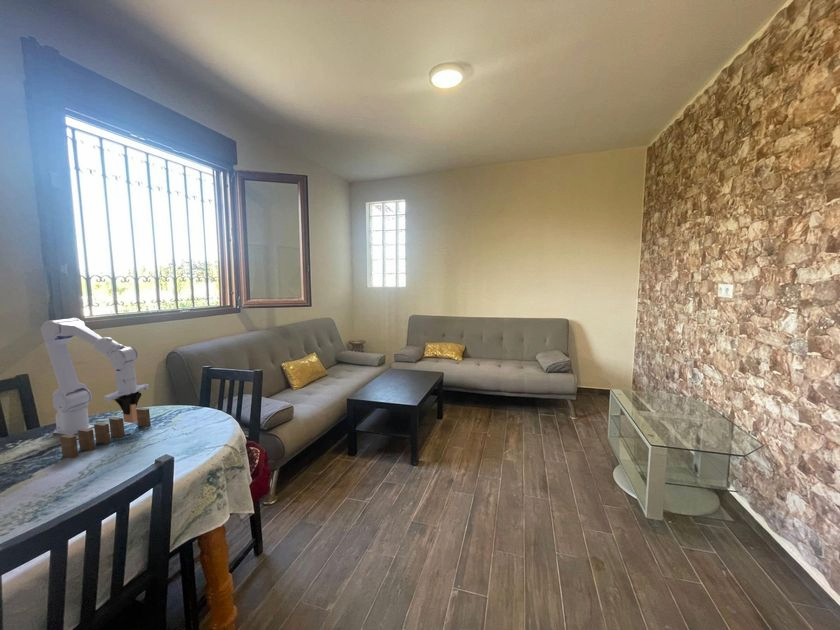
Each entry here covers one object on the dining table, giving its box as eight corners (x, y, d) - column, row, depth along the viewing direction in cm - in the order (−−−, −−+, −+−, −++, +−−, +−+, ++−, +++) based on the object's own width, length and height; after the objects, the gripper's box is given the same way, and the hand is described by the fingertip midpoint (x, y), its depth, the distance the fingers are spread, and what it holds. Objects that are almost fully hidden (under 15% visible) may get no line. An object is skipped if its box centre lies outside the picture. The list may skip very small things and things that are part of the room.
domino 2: (89, 450, 116) (87, 431, 115) (80, 449, 117) (77, 430, 116) (95, 448, 117) (92, 429, 116) (85, 447, 118) (83, 428, 118)
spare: (133, 423, 129) (131, 405, 128) (123, 421, 130) (122, 404, 130) (137, 421, 131) (135, 404, 130) (128, 420, 132) (126, 403, 131)
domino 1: (72, 458, 111) (70, 438, 110) (62, 456, 112) (60, 436, 111) (78, 455, 113) (76, 435, 112) (68, 453, 114) (66, 434, 113)
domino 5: (146, 426, 134) (144, 410, 134) (137, 425, 135) (136, 409, 135) (150, 425, 136) (149, 408, 135) (141, 424, 137) (140, 407, 136)
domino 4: (120, 437, 125) (118, 420, 124) (111, 436, 126) (109, 418, 125) (124, 436, 127) (123, 418, 126) (115, 434, 128) (113, 417, 127)
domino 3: (105, 444, 120) (103, 425, 120) (96, 442, 121) (93, 424, 121) (110, 442, 122) (108, 423, 121) (101, 440, 123) (99, 422, 122)
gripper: (112, 385, 121) (116, 421, 122) (153, 374, 135) (156, 406, 136) (98, 384, 122) (102, 419, 124) (139, 373, 136) (142, 405, 138)
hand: (129, 413), depth 130 cm, fingers closed on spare, 1 cm apart
